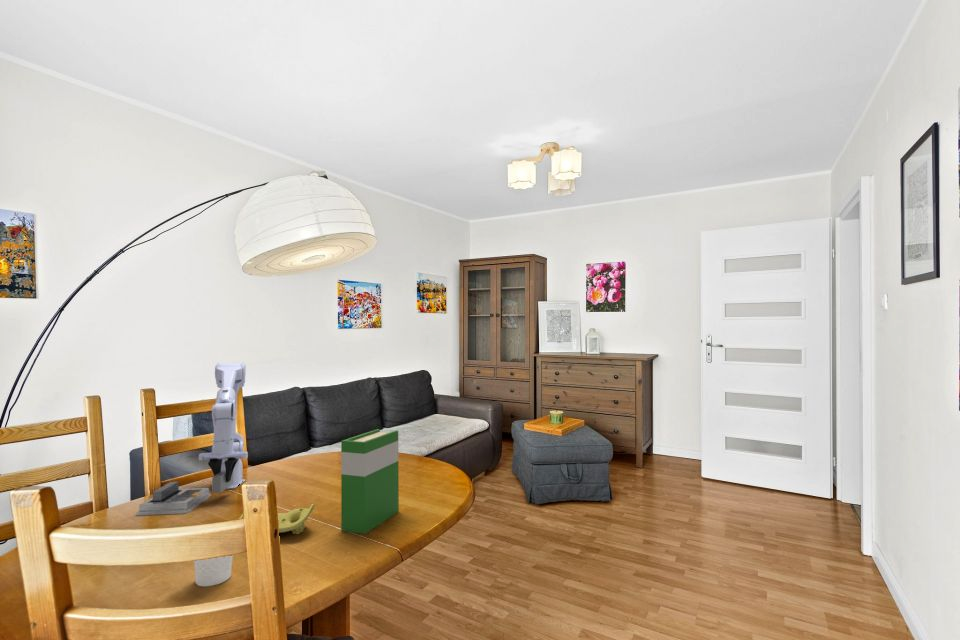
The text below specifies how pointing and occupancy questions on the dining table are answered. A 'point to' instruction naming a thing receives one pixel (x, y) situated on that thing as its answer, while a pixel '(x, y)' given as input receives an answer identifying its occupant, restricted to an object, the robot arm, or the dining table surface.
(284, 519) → the plastic component
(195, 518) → the dining table surface
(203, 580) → the white cup
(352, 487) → the hardback book
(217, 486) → the panel
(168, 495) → the rack
